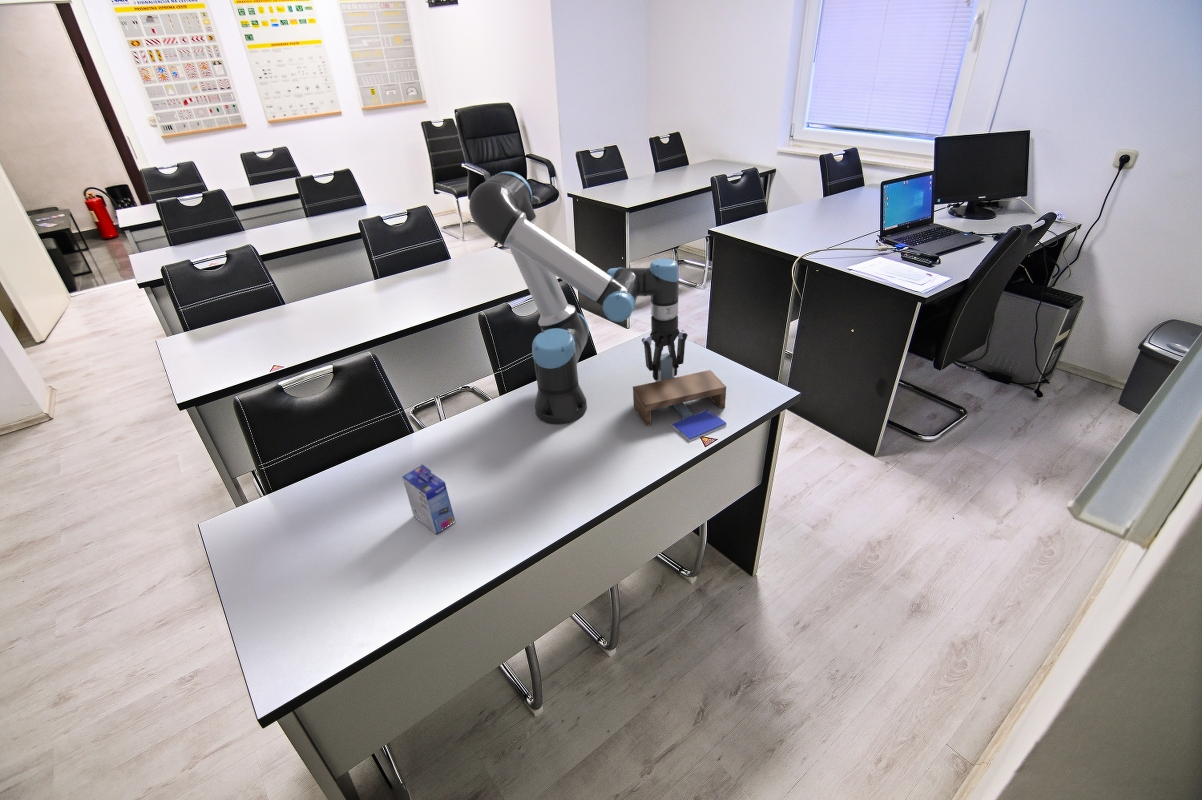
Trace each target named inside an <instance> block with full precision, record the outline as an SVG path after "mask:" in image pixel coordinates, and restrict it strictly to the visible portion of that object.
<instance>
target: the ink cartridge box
mask: <svg viewBox="0 0 1202 800" xmlns="http://www.w3.org/2000/svg"><path fill="white" fill-rule="evenodd" d="M401 478H402V481H403V485H404V488H405V491H406V492H405V493H406V495H407V498H408V501H409V505H410V508H411V512H412V515H413V517H414V516H415V517H417V518H418V519H419V520H420V521H421V522H420V521H419V520H418V519H417V518H416V519H417V520H418V521H419V522H420V523H422V522H423V523H424V524H425V525H426V526H425V525H424V524H423V523H422V524H423V525H424V526H425V527H427V526H428V527H429V528H430V529H431V530H430V529H429V528H428V527H427V528H428V529H429V530H430V531H432V530H433V531H434V532H435V533H438V532H439V531H441V530H442V529H444V528H445V527H447V526H448V525H450V524H451V523H453V522H454V521H455V522H456V520H455V519H456V518H455V516H454V512H453V508H452V504H451V500H450V496H449V493H448V489H447V488H448V487H447V486H446V482H445V481H444V480H443V479H441V478H440V477H438V476H437V475H435V474H434V473H432V470H431V469H429V467H426V466H425V465H424V464H420V466H418V467H416V468H414V469H413V470H412V469H411V471H409V472H408V473H406V474H405V475H403V476H402V477H401ZM415 517H414V518H415ZM447 528H448V527H447ZM444 530H445V529H444ZM433 531H432V532H433ZM434 532H433V533H434ZM441 532H442V531H441ZM435 533H434V534H435ZM439 533H440V532H439ZM439 533H438V534H439Z"/></svg>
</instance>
